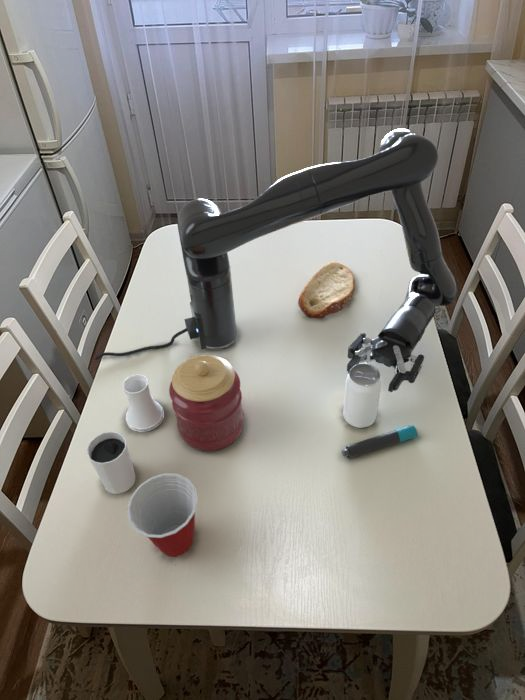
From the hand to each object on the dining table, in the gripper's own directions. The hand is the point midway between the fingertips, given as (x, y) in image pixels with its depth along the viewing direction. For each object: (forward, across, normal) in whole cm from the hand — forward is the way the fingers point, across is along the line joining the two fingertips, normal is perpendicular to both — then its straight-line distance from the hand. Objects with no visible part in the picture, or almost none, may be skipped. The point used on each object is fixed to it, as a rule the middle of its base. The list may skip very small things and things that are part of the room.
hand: (369, 380), depth 104 cm
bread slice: (-29, -25, +8) cm, 39 cm away
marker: (+8, +6, +7) cm, 12 cm away
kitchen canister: (+20, -24, +8) cm, 32 cm away
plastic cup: (+43, -14, +8) cm, 46 cm away
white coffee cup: (+39, -30, +8) cm, 50 cm away
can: (+3, 0, +8) cm, 8 cm away
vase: (+26, -36, +8) cm, 45 cm away
